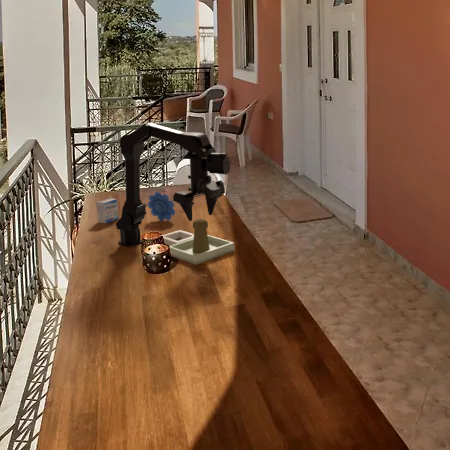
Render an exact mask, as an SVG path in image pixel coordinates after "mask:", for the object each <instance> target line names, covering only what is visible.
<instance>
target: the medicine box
mask: <svg viewBox="0 0 450 450" xmlns="http://www.w3.org/2000/svg"><path fill="white" fill-rule="evenodd" d="M95 203H96V214H97V216H96V217H97V223H100V224H105V225H107V224H109V223H112V222H115V221H118V220H119V219H120V217H119V208H118V207H119V206H118V199H116V198H111V197H110V198H106V199H103V200H100V201H97V202H95Z"/></svg>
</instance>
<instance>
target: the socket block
mask: <svg viewBox="0 0 450 450" xmlns="http://www.w3.org/2000/svg"><path fill="white" fill-rule="evenodd" d="M161 236H163V238H164V243H165V244H167V245H169V246H171V245H174V244H177V243H181V242H184V241H187V240H190V239H193V238H194V233H191V232H188V231H185V230H181V229H178V230H176V231H172V232H168V233H165V234H162V235H161Z"/></svg>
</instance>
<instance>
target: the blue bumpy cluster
mask: <svg viewBox="0 0 450 450" xmlns="http://www.w3.org/2000/svg"><path fill="white" fill-rule="evenodd" d="M148 200H149V201H147V207H148V208H149V209H150V214H151V215H152V216H154V217H157V219H158V220H159V221H162V222H163V221H164V220H166V221H170V220H171V219H172V216H175V214H176V211H175V209H174V207H175V203H174V200H170V198H169V195H168V194H166V193H163V194H162V193H161V192H159V191H155V192H154V194H150V195H149V196H148Z"/></svg>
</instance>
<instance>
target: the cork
mask: <svg viewBox="0 0 450 450" xmlns="http://www.w3.org/2000/svg"><path fill="white" fill-rule="evenodd" d="M208 227H209V223H208V221H207V220H206V219H204V218H199V219H198V218H197V219H195V220H193V221H192V228H193V230H194V231H193V234H194V240H193V250H192V251H193V252H194V253H198V254H200V253H203V252H206V251H209V250H210V248H209V242H208V236H207V235H208V230H207V229H208Z"/></svg>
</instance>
